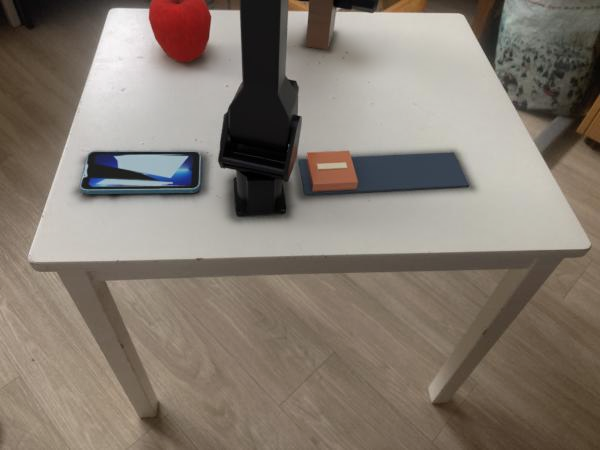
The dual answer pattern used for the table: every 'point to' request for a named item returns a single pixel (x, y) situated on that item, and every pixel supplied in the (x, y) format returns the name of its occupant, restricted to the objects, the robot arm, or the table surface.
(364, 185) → the word mat
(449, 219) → the table surface
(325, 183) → the letter tile
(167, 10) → the apple
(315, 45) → the brown tall rectangular block
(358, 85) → the table surface
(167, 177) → the smartphone
